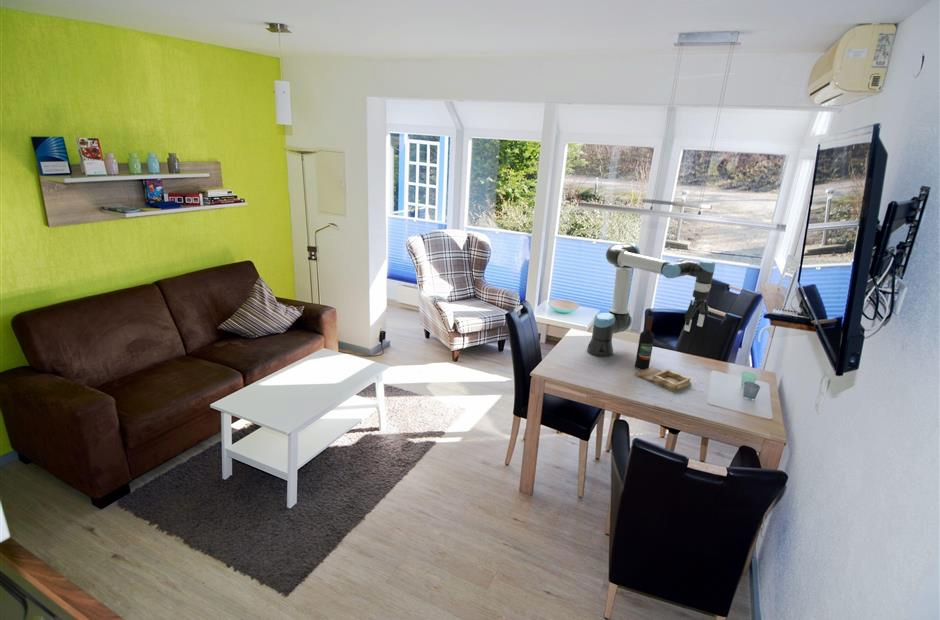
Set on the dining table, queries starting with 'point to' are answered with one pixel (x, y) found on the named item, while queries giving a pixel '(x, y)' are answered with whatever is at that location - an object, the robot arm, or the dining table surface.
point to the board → (664, 378)
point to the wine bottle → (645, 346)
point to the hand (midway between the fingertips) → (693, 328)
